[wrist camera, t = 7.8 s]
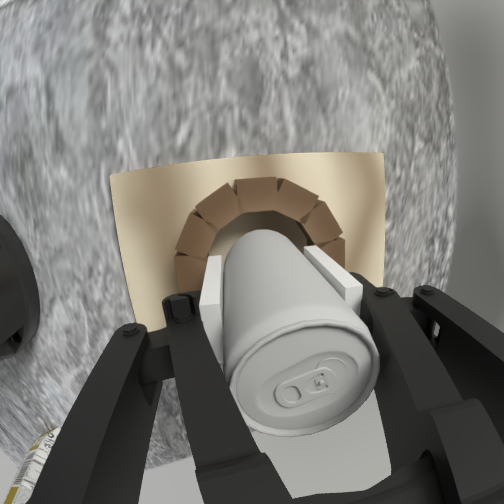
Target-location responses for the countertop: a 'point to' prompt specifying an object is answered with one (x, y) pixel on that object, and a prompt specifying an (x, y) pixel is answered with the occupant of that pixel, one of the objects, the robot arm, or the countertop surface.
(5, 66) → the countertop surface
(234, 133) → the countertop surface
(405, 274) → the countertop surface
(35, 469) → the juice carton
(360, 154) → the collar board
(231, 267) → the beverage can
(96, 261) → the countertop surface
